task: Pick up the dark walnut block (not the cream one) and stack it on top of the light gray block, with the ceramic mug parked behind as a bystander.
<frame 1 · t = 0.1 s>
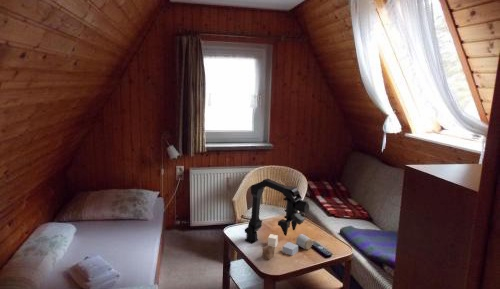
hand: (289, 232, 200), 15 cm above the table, fingers open, 9 cm apart
ceramic mug: (305, 246, 214), on the table
walnut block: (268, 257, 200), on the table
cream block: (272, 245, 214), on the table
light gray block: (290, 251, 207), on the table
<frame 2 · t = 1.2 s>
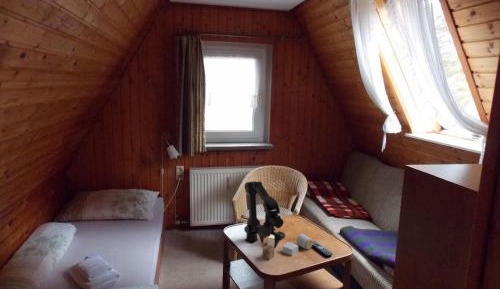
hand: (268, 245, 199), 8 cm above the table, fingers open, 9 cm apart
nothing on the table moved.
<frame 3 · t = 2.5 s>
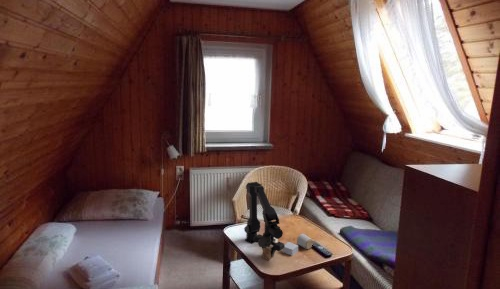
hand: (268, 255, 200), 1 cm above the table, fingers closed on walnut block, 5 cm apart
walnut block: (268, 257, 200), on the table, touching gripper
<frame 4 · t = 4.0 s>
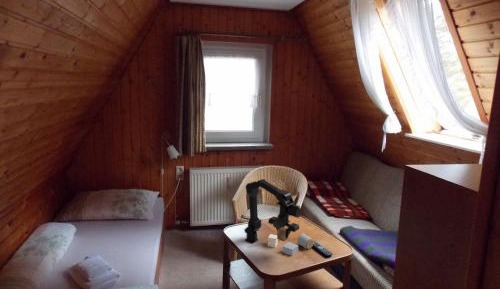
hand: (282, 237, 202), 11 cm above the table, fingers closed on walnut block, 5 cm apart
walnut block: (282, 238, 202), point 10 cm above the table, touching gripper
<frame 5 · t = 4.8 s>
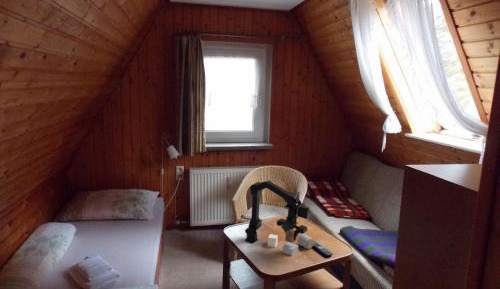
hand: (290, 238, 205), 9 cm above the table, fingers closed on walnut block, 5 cm apart
walnut block: (290, 240, 205), point 8 cm above the table, touching gripper
when the fingers open (6 cm above the table, at t = 5.6 s): walnut block drops 1 cm, resting on light gray block.
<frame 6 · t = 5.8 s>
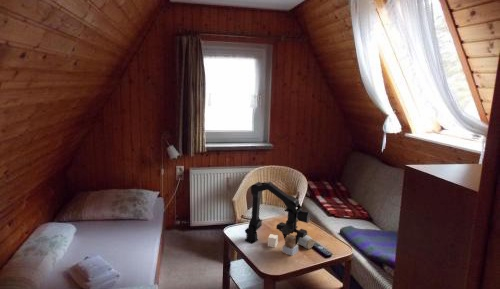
hand: (290, 242, 206), 6 cm above the table, fingers open, 7 cm apart
walnut block: (290, 245, 206), point 4 cm above the table, touching light gray block
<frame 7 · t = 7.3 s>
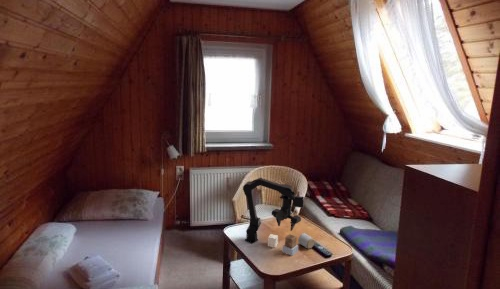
hand: (285, 228, 212), 12 cm above the table, fingers open, 9 cm apart
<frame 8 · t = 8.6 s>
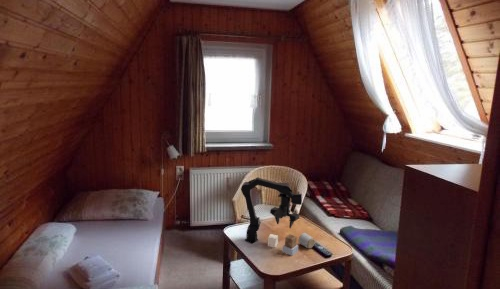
hand: (283, 226, 214), 12 cm above the table, fingers open, 9 cm apart
at the end: walnut block 0.1 cm off-centre on the light gray block, point 4.0 cm above the light gray block's base; walnut block tilted 0°; cream block moved 0.1 cm from its start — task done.
